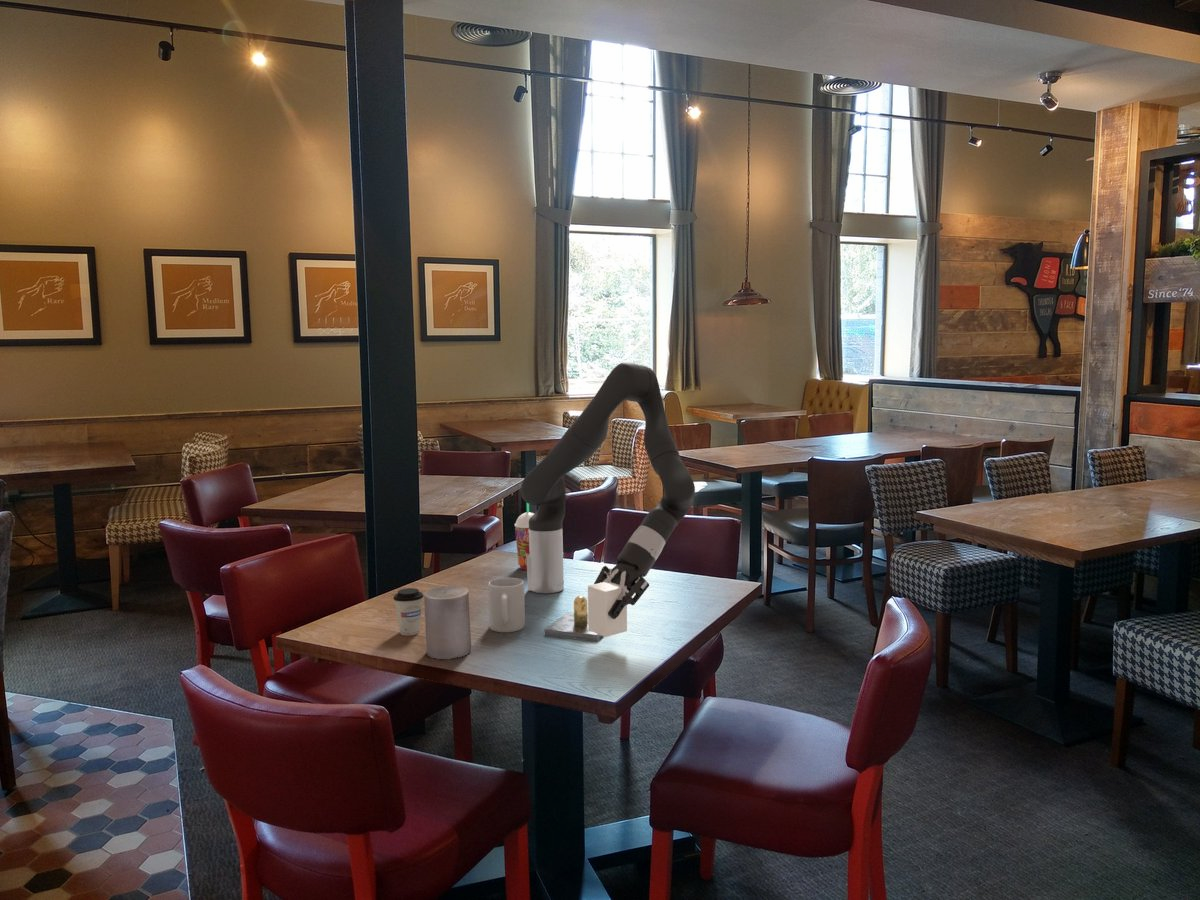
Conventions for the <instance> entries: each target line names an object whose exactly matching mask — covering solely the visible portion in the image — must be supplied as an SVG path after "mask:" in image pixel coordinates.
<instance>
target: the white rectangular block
mask: <svg viewBox="0 0 1200 900" xmlns="http://www.w3.org/2000/svg"><path fill="white" fill-rule="evenodd" d="M625 587H626V589H627V586H625ZM621 589H622V588H621V587H619V585H618V584H615V583H612V582H609V583H606V582H602V583H601V582H600V583H597V584H594V583H593V584H589V585H587V608H588V630H589V631H592V632H594V633H597V634H599V635H602V637H604V638H608V637H612V636H615V635H618V634H621V633H625V632H627V631H628V605H627V606H624V608H623V610H622V611H621V613H620V614H619V616H618V617H616V619H612V618H611V617H610V616H609V615H608V612H609V611H610V609H611V607H612V606H613V604H614V603H615V601H616V600H619V599H618V596H619V594H620V593H621V591H622V590H621ZM624 596H626V594H625V595H624Z"/></svg>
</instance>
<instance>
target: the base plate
mask: <svg viewBox="0 0 1200 900" xmlns="http://www.w3.org/2000/svg"><path fill="white" fill-rule="evenodd" d="M543 630H544V631H543V632H544V633H543V634H544V636H546V637H555V638H564V639H574V640H582V641H583V640H584V641H591V642H598V641H599V640H601V638H602V637H603V636H602V635H599V634H597V633H594V632H592V631H589V630H588V598H586V597H585V596H583V595H577V597H575V598H574V600H573V612H572V613H571V612H566V613H564V614H563V615H561V616H560V617H559V618H557V619H556V620H555V621H554V622H552V623H550V625H548V626H547V627H546V628H544V629H543Z"/></svg>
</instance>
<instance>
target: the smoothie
mask: <svg viewBox="0 0 1200 900" xmlns="http://www.w3.org/2000/svg"><path fill="white" fill-rule="evenodd" d="M534 514H535V513H534V512H530V504H528V503H527V502H526V512H524V513H521V514H520V515H519V516H518V517H517V519H516V521H515V523H514V531H515V542H516V551H517V552H516V553H517V562H518V563H517V564H518V565H519V567H520V569H521V570H523V571H527V556H529V555H530V549H529V519H530V518H531V517H532V516H533V515H534Z"/></svg>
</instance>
